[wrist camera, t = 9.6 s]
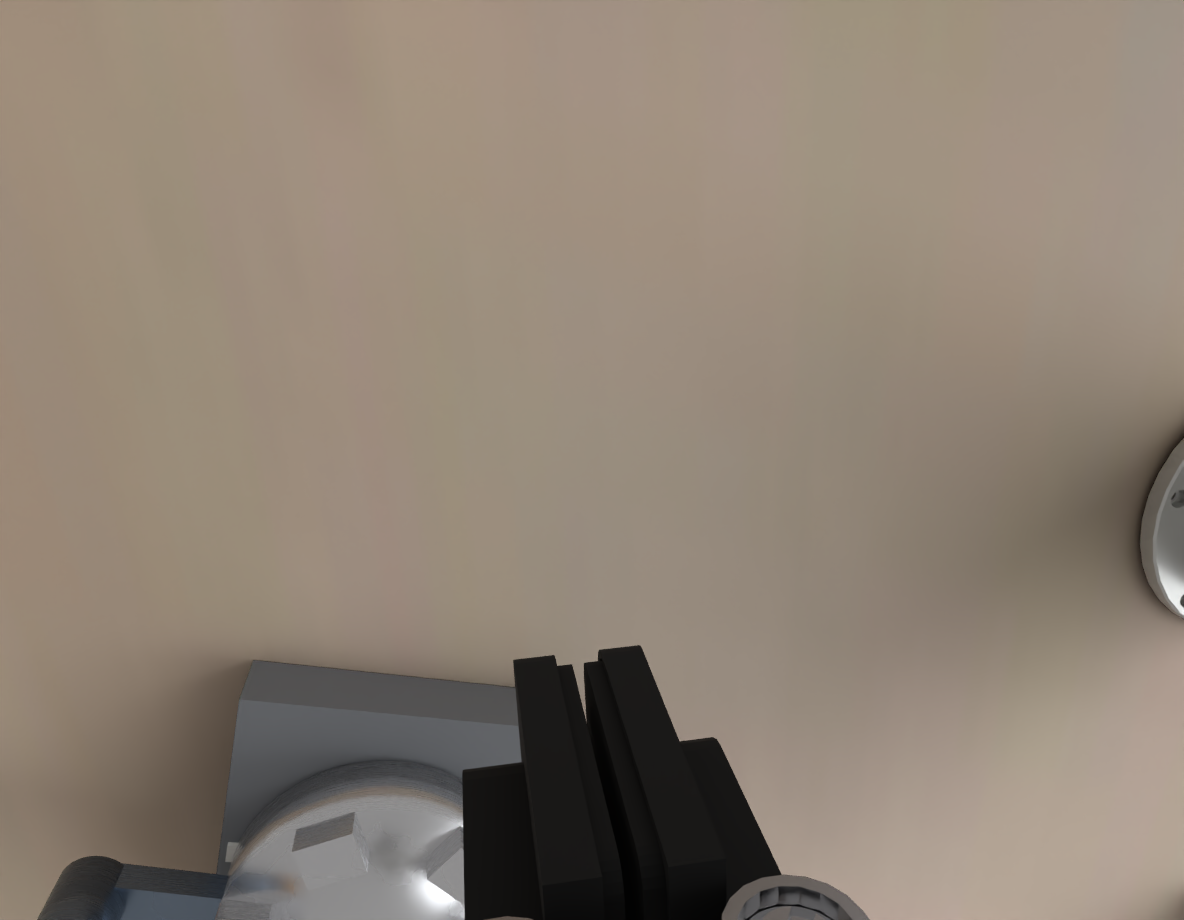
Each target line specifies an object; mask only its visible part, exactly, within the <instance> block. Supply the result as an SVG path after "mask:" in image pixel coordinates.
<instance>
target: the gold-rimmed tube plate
mask: <svg viewBox="0 0 1184 920" xmlns="http://www.w3.org/2000/svg"><path fill="white" fill-rule="evenodd" d="M37 920H465V912H464V852H463V792H462V779H461V778H459V777H457V776H455V775H453V774H450V773H448V772H446V771H443V770H440V769H437V768H434V767H431V766H426V765H421V764H417V763H412V762H401V761H369V762H361V763H353V764H349V765H345V766H340V767H336V768H332V769H330V770H327V771H324V772H321V773H318V774H316V775H313V776H311V777H309V778H307V779H305V780H303V781H301V782H299V783H297V784H295V785H294V786H292V787H291V788H289V789H287V790H286V791H284V792H283V793H281V794H280V795H279V796H277V797H276V798H275V799H274V800H273V801H271V802H270V803H269V804H268V805H267V806H265V808H264V809H263V810H262V811H261V812H260V813H259V814H258V815H257V816H256V817H255V818H254V819H253V821H252V822H251V824H250V825H249V826H248V828H247V829H246V831H245V832H244V834H243V835H242V837H241V839H240V841H239V843H238V845H237V847H236V849H235V852H234V856H233V859H232V862H231V865H230V868H229V872H228V875H218V874H209V873H201V872H192V871H183V870H175V869H166V868H157V867H149V866H140V865H131V864H123V863H120V862H118V861H116V860H114V859H111V858H108V857H103V856H90V857H84V858H81V859H78V860H76V861H74V862H72V863H71V864H69V865H68V866H67V867H66V868H65V869H64V870H63V872H62V873H61V875H60V877H59V879H58V881H57V883H56V885H55V887H54V889H53V890H52V892H51V894H50V896H49V898H48V900H47V902H46V904H45V906H44V908H43V909H42V911H41V913H40V915H39V917H38V919H37Z"/></svg>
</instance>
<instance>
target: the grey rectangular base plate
mask: <svg viewBox="0 0 1184 920" xmlns="http://www.w3.org/2000/svg"><path fill="white" fill-rule="evenodd" d="M369 761H401V762H412V763H417V764H421V765H426V766H431V767H434V768H437V769H440V770H443V771H446V772H448V773H450V774H453V775H455V776H457V777H459V778H461V779H462V772H463V770H465V769H473V768H480V767H488V766H496V765H504V764H511V763H519V762H521V750H520V737H519V725H518V713H517V701H516V689H515V688H514V687H504V686H495V685H485V684H476V683H466V682H457V681H447V680H438V679H428V678H419V677H409V676H400V675H390V674H381V673H371V672H362V671H352V670H342V669H333V668H323V667H314V666H304V665H295V664H285V663H276V662H266V661H257V660H253V663H252V666H251V668H250V671H249V674H248V677H247V679H246V682H245V685H244V688H243V690H242V693H241V696H240V699H239V705H238V713H237V720H236V728H235V736H234V743H233V751H232V758H231V766H230V774H229V781H228V789H227V797H226V804H225V812H224V820H223V827H222V835H221V843H220V850H219V858H218V866H217V873H216V874H218V875H228V872H229V868H230V865H231V862H232V859H233V856H234V852H235V849H236V847H237V845H238V843H239V841H240V839H241V837H242V835H243V834H244V832H245V831H246V829H247V828H248V826H249V825H250V824H251V822H252V821H253V819H254V818H255V817H256V816H257V815H258V814H259V813H260V812H261V811H262V810H263V809H264V808H265V806H267V805H268V804H269V803H270V802H271V801H273V800H274V799H275V798H276V797H277V796H279V795H280V794H281V793H283V792H284V791H286V790H287V789H289V788H291V787H292V786H294V785H295V784H297V783H299V782H301V781H303V780H305V779H307V778H309V777H311V776H313V775H316V774H318V773H321V772H324V771H327V770H330V769H332V768H336V767H340V766H345V765H349V764H353V763H361V762H369Z"/></svg>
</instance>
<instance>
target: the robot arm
mask: <svg viewBox="0 0 1184 920" xmlns="http://www.w3.org/2000/svg"><path fill="white" fill-rule="evenodd" d="M1140 548H1141V557H1142V565H1143V568H1144V571H1145V574H1146V577H1147V580H1148V583H1149V585H1150V586H1151V588H1152V590H1153V591H1154V593H1155V594H1156V596H1157V597H1158V599H1159V600H1160V601H1161V602H1162V603H1163V604H1164V605H1165V606H1166V607H1167V608H1168V609H1169V610H1170V611H1172V612H1173V613H1174V614H1176V615H1178V616H1180V617H1181V618H1183V619H1184V438H1183V439H1182V441H1181V442H1180V443H1179V444H1178V445H1177V446H1176V447H1175V449H1174V450H1173V451H1172V453H1171V454H1170V456H1169V457H1168V459H1167V461H1166V462H1165V464H1164V465H1163V467H1162V468H1161V470H1160V472H1159V473H1158V476H1157V478H1156V480H1155V482H1154V485H1153V487H1152V489H1151V491H1150V494H1149V496H1148V499H1147V503H1146V507H1145V511H1144V514H1143V518H1142V526H1141V537H1140ZM513 663H514V677H515V689H516V701H517V713H518V725H519V737H520V750H521V762H519V763H511V764H504V765H496V766H488V767H480V768H473V769H465V770H463V772H462V792H463V852H464V912H465V920H870V919H869V918H868V917H867V916H866V914H865V913H864V912H863V910H862V909H861V908H860V907H859V906H857V905H856V904H855V903H854V902H853V901H852V900H851V899H850V898H849V897H848V896H847V895H846V894H844V893H842V892H841V891H839V890H837V889H836V888H834V887H832V886H830V885H829V884H827V883H824V882H821V881H817V880H814V879H811V878H808V877H803V876H792V875H781V872H780V870H779V868H778V866H777V864H776V862H775V860H774V858H773V856H772V853H771V851H770V849H769V847H768V845H767V843H766V841H765V839H764V836H763V834H762V832H761V830H760V828H759V826H758V824H757V822H756V820H755V817H754V815H753V813H752V811H751V809H750V807H749V805H748V803H747V800H746V798H745V796H744V794H743V792H742V790H741V788H740V786H739V784H738V781H737V779H736V777H735V775H734V773H733V771H732V769H731V767H730V764H729V762H728V760H727V758H726V756H725V754H724V752H723V750H722V748H721V746H720V744H719V742H718V741H717V739H715V738H713V737H711V738H703V739H696V740H688V741H680V742H679V739H678V737H677V734H676V732H675V729H674V727H673V724H672V722H671V719H670V717H669V715H668V712H667V710H666V707H665V705H664V702H663V700H662V697H661V695H660V692H659V690H658V687H657V685H656V682H655V680H654V677H653V675H652V672H651V670H650V667H649V665H648V662H647V660H646V657H645V655H644V652H643V650H642V648H641V646H639V645H638V646H629V647H621V648H612V649H603V650H599V652H598V661H596V662H587V663H584V682H585V700H586V718H587V723H586V719H585V715H584V711H583V707H582V703H581V699H580V695H579V691H578V686H577V682H576V678H575V674H574V670H573V666H572V664H570V665H562V666H557V664H556V659H555V656H554V655H552V656H543V657H534V658H526V659H517V660H513Z"/></svg>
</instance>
